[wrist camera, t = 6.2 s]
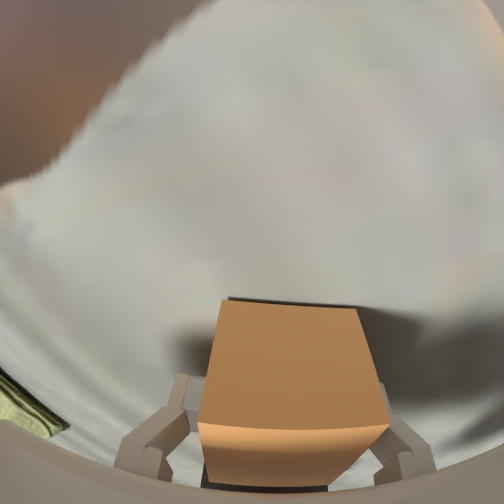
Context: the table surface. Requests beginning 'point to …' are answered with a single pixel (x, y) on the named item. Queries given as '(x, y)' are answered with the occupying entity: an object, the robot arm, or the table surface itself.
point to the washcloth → (26, 411)
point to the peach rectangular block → (288, 395)
